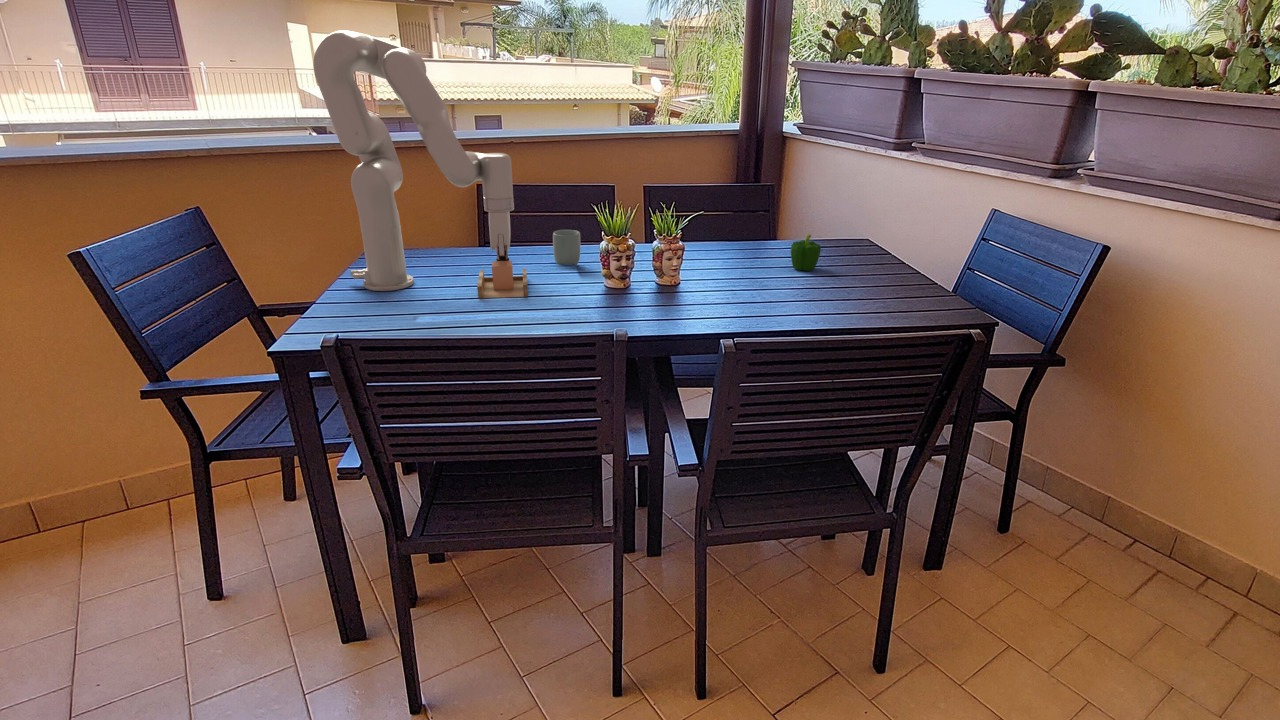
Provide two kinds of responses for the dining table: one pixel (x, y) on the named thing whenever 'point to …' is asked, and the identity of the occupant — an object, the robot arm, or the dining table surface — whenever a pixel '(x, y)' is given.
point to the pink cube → (502, 275)
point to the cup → (566, 247)
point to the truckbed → (487, 289)
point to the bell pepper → (805, 254)
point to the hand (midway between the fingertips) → (503, 273)
